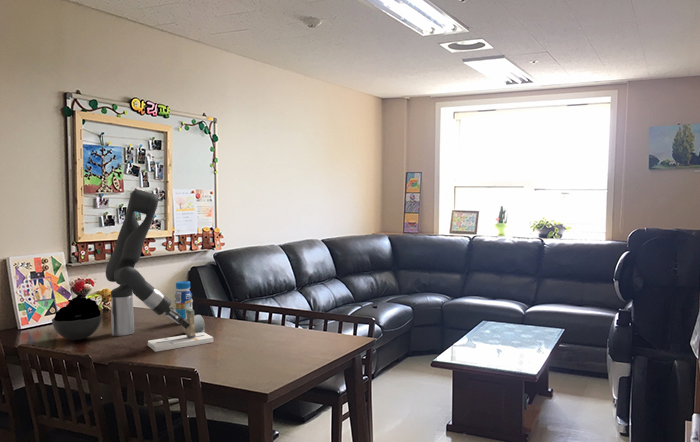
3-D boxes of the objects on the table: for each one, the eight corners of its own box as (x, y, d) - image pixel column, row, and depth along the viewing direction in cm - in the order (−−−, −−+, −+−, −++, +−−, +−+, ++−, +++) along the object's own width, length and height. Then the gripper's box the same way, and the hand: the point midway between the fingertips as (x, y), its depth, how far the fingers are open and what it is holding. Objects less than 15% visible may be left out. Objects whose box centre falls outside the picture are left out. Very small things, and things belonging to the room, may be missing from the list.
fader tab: (190, 338, 243) (189, 311, 242) (185, 335, 248) (184, 308, 248) (196, 337, 244) (195, 310, 244) (192, 334, 250) (190, 308, 249)
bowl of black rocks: (83, 345, 245) (81, 301, 244) (42, 344, 249) (40, 300, 248) (112, 334, 264) (110, 293, 264) (73, 333, 268) (71, 292, 268)
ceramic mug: (180, 333, 263) (180, 316, 263) (196, 329, 269) (195, 313, 269) (193, 337, 256) (193, 320, 255) (209, 333, 262) (209, 316, 261)
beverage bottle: (174, 321, 288) (172, 281, 287) (191, 319, 291) (190, 280, 290) (177, 325, 280) (175, 283, 279) (194, 323, 284) (193, 282, 283)
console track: (155, 351, 232) (155, 346, 232) (147, 345, 243) (147, 340, 242) (213, 342, 245) (213, 337, 245) (204, 336, 255) (204, 331, 255)
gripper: (167, 296, 234) (198, 322, 241) (158, 292, 245) (188, 317, 252) (154, 311, 231) (186, 337, 238) (146, 306, 242) (176, 330, 250)
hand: (187, 326), depth 245 cm, fingers closed
